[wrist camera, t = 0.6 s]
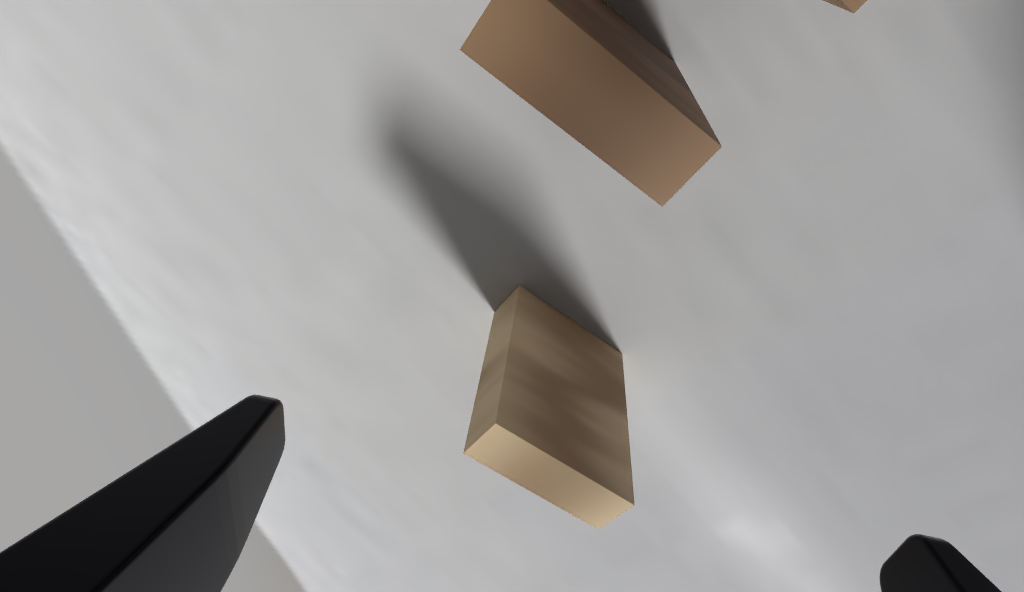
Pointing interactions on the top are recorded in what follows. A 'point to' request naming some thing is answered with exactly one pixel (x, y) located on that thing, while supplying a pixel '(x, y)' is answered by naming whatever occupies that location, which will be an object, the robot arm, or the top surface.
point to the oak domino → (553, 411)
